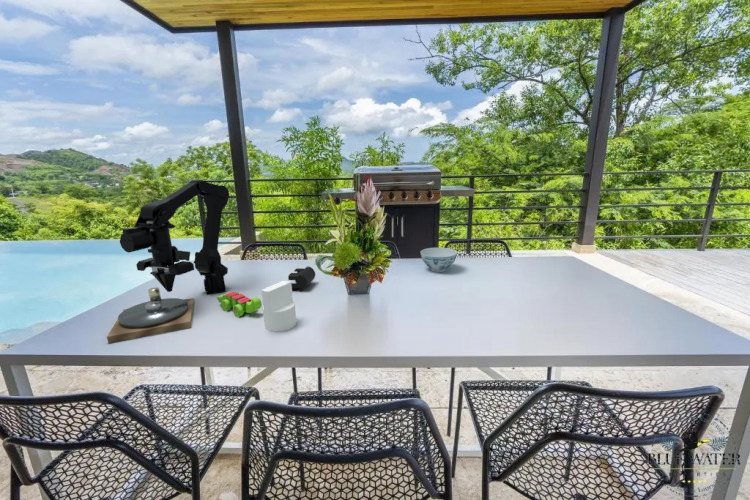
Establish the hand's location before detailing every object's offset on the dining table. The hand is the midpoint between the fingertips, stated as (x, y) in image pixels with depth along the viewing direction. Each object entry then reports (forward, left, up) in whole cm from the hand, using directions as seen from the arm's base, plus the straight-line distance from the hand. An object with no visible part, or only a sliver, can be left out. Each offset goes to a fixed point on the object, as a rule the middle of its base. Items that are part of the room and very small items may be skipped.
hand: (169, 291), depth 113 cm
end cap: (-43, -1, -7) cm, 44 cm away
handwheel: (+4, +7, -4) cm, 9 cm away
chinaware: (-99, +6, -7) cm, 99 cm away
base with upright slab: (-30, +27, -7) cm, 41 cm away
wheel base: (+4, +7, -6) cm, 10 cm away
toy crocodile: (-20, +10, -7) cm, 23 cm away
